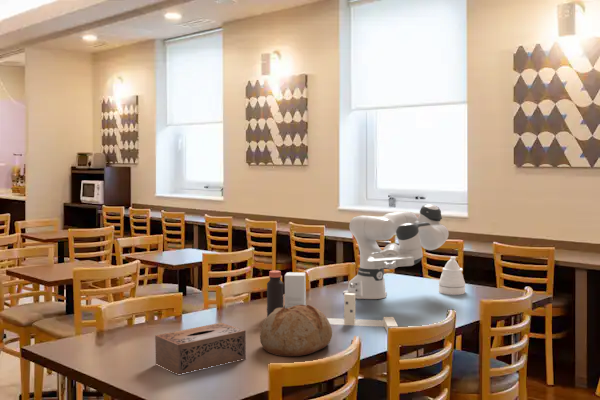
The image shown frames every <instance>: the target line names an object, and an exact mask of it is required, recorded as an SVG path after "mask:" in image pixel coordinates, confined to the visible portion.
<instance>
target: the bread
mask: <svg viewBox="0 0 600 400" xmlns="http://www.w3.org/2000/svg"><path fill="white" fill-rule="evenodd" d="M327 318H328V317H327V316H326V315H325V314H324V312H322V311H321V310H320V309H318V308H317V307H315V306H313V305H310V304H306V305H295V306H293V307H289V308H285V306H283V308H276V309H275V310H274V311H273V312H272V313H271V314H270V315H269V316H268V317H267V316H266V318H265V319H264V321H263V323H262V326H261V329H260V333H259V342H260V345H261V346H262V348H263V350H265V351H266V352H268V353H270V354H271V355H275V356H280V357H300V356H306V355H310V354H314V353H315V352H317V351H319V350H322V349H324V348H325V347H327V346H328V345H329V344H330V343H331V341H332V337H333V330H332V326H331V325H330V323H329V321H328V319H327Z"/></svg>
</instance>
